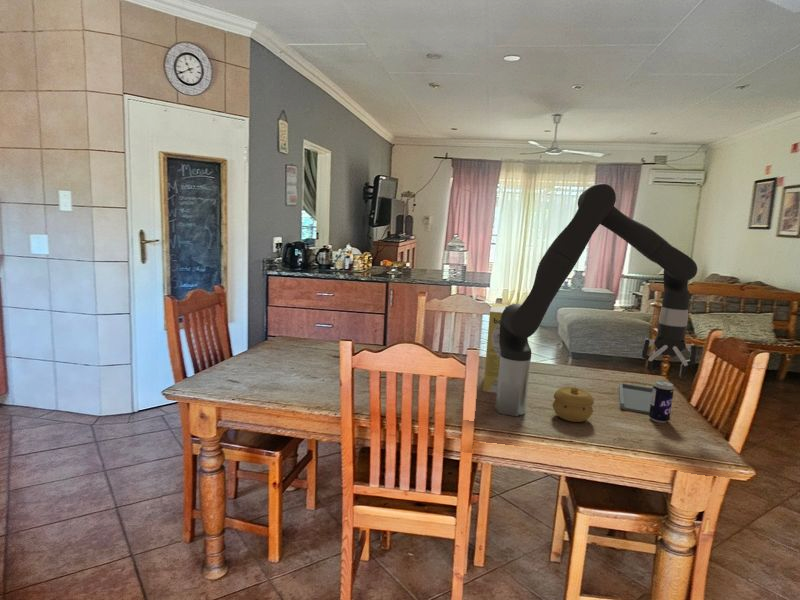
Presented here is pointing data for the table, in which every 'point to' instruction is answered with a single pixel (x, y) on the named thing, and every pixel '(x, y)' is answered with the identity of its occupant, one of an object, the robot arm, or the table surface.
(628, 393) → the gray tray
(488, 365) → the pasta box
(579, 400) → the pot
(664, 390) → the beverage can
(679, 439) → the table surface
